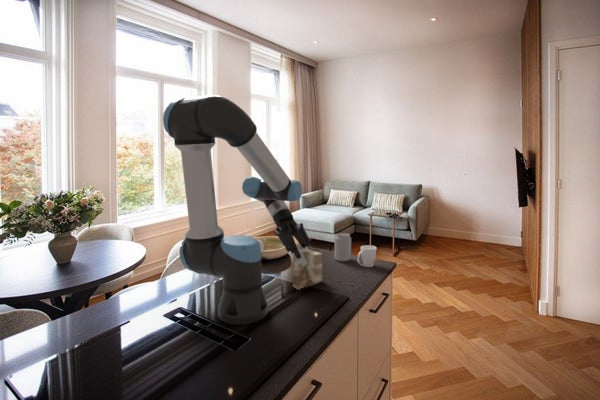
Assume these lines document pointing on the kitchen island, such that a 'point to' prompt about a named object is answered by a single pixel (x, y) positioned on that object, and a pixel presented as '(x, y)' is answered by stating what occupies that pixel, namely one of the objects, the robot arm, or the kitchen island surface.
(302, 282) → the oak slot board
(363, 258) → the cup
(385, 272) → the kitchen island surface
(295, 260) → the cream wavy slab
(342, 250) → the can
